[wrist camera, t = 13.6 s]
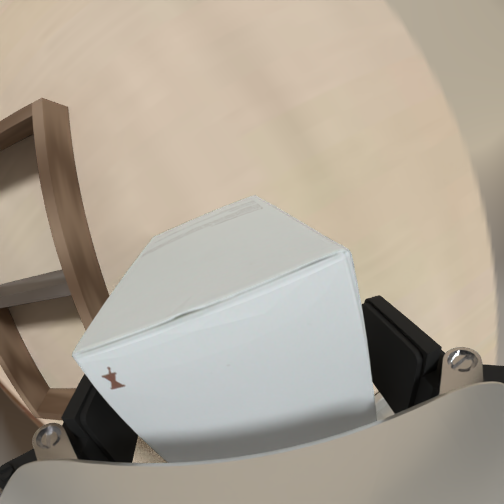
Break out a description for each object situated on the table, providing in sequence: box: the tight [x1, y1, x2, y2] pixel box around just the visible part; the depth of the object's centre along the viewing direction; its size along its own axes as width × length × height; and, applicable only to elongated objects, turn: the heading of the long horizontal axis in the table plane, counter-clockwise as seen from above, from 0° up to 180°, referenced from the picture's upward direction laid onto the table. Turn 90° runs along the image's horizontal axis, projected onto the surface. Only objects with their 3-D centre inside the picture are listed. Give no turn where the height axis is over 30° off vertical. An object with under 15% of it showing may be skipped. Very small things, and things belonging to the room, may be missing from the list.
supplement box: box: [72, 195, 377, 463], centre depth 13 cm, size 7×7×13 cm
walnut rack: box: [0, 98, 109, 420], centre depth 16 cm, size 22×12×4 cm, turn 9°
